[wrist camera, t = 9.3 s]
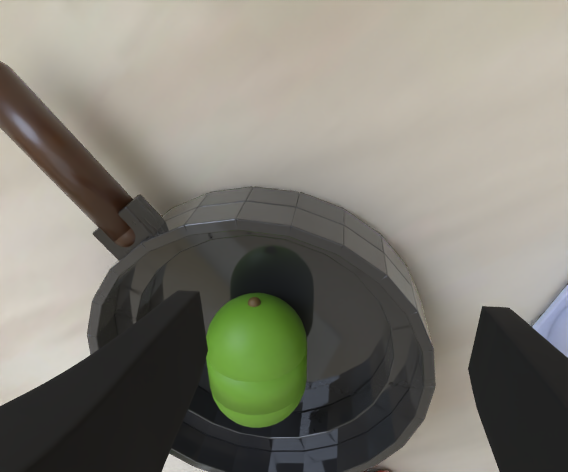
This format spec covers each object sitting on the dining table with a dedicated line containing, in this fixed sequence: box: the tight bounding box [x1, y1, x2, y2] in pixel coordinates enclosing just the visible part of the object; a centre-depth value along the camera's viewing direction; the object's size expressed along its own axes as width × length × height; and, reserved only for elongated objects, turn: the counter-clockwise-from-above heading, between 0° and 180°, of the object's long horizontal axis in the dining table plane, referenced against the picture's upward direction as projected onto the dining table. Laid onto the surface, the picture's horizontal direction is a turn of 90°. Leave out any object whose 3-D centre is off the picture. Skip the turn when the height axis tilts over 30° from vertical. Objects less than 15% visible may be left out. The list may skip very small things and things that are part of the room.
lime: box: [206, 293, 307, 428], centre depth 21 cm, size 8×5×5 cm, turn 1°
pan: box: [87, 187, 436, 472], centre depth 22 cm, size 16×16×4 cm
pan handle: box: [0, 61, 165, 260], centre depth 17 cm, size 9×2×2 cm, turn 37°
